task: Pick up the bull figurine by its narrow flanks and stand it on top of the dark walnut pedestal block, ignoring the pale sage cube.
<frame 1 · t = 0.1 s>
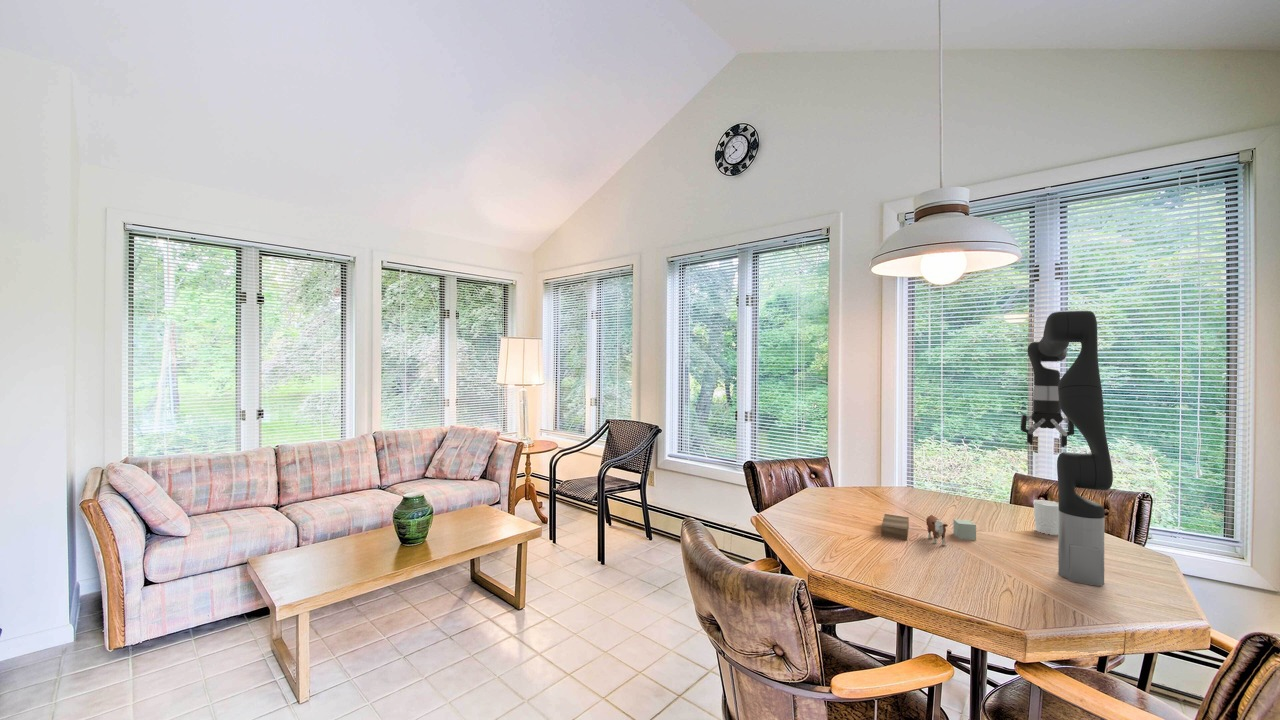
hand: (1046, 445, 172), 29 cm above the table, fingers open, 8 cm apart
white cup: (1048, 532, 170), on the table
bull figurine: (936, 542, 159), on the table
pedestal: (895, 533, 168), on the table
sage cube: (964, 537, 164), on the table
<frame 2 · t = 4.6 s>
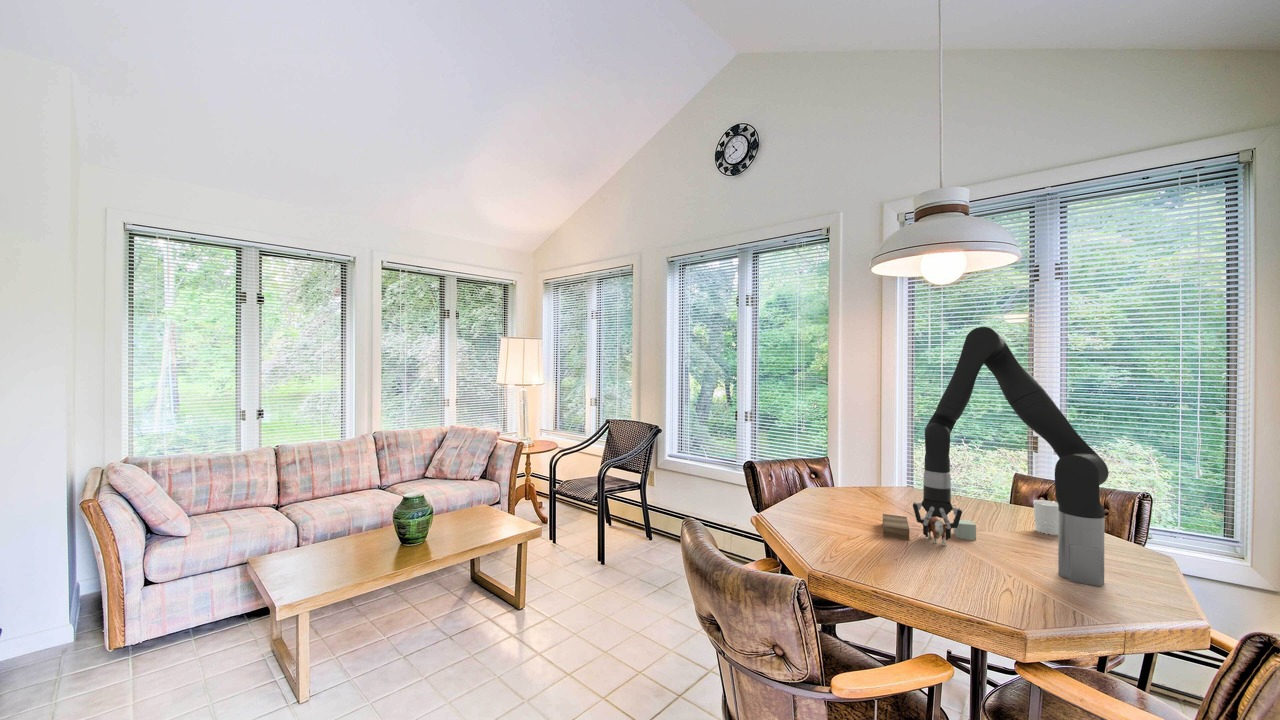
hand: (936, 537, 159), 1 cm above the table, fingers closed on bull figurine, 5 cm apart
bull figurine: (936, 543, 159), on the table, touching gripper
everything else where it was.
when the fingers open (6 cm above the table, at t = 10.1 s): bull figurine drops 1 cm, point 3 cm above the table.
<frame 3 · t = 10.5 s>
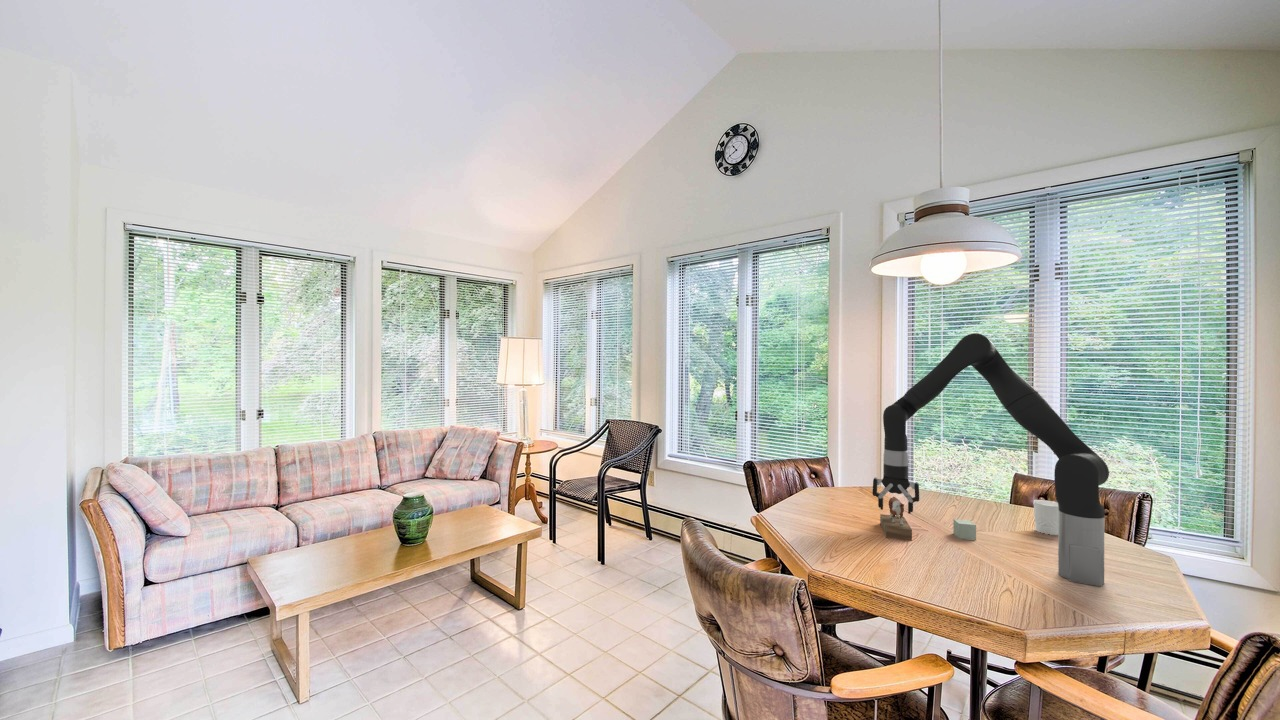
hand: (895, 511, 168), 7 cm above the table, fingers open, 8 cm apart
bull figurine: (896, 522, 168), point 3 cm above the table
everything else where it was.
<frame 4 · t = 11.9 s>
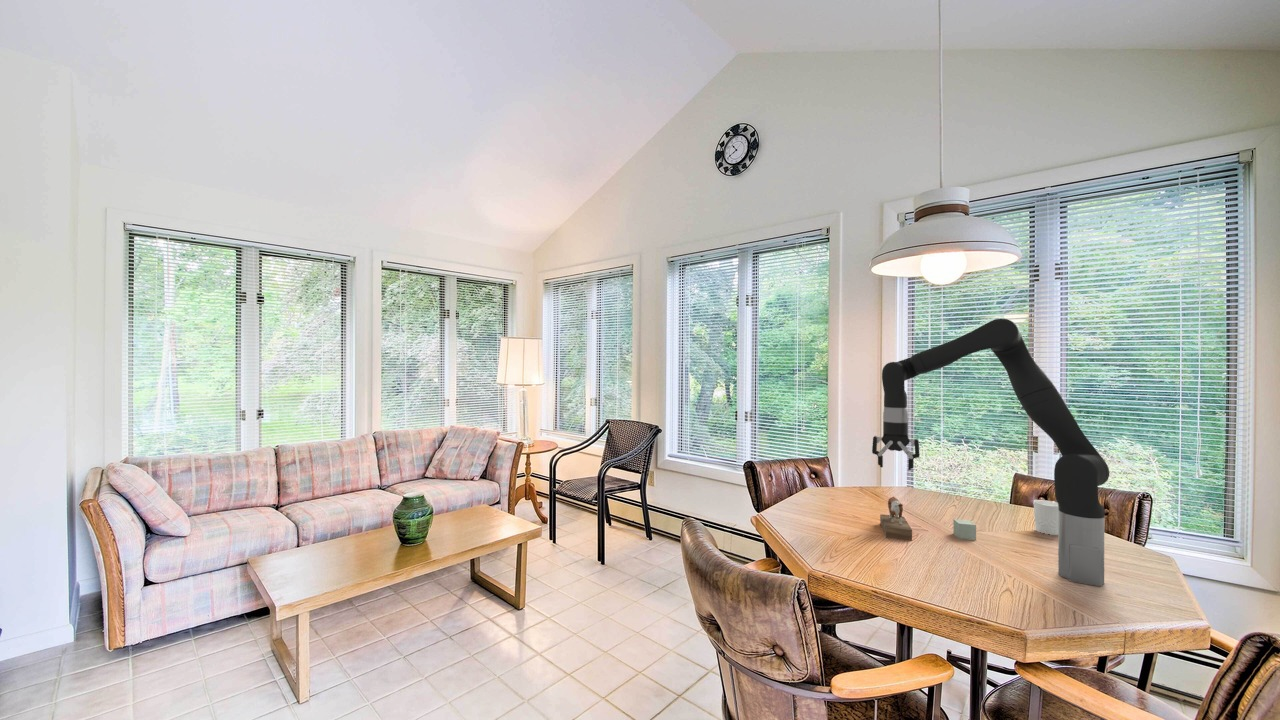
hand: (895, 468, 169), 22 cm above the table, fingers open, 8 cm apart
bull figurine: (895, 522, 168), point 3 cm above the table, touching pedestal
pedestal: (895, 533, 168), on the table, touching bull figurine
everything else where it was.
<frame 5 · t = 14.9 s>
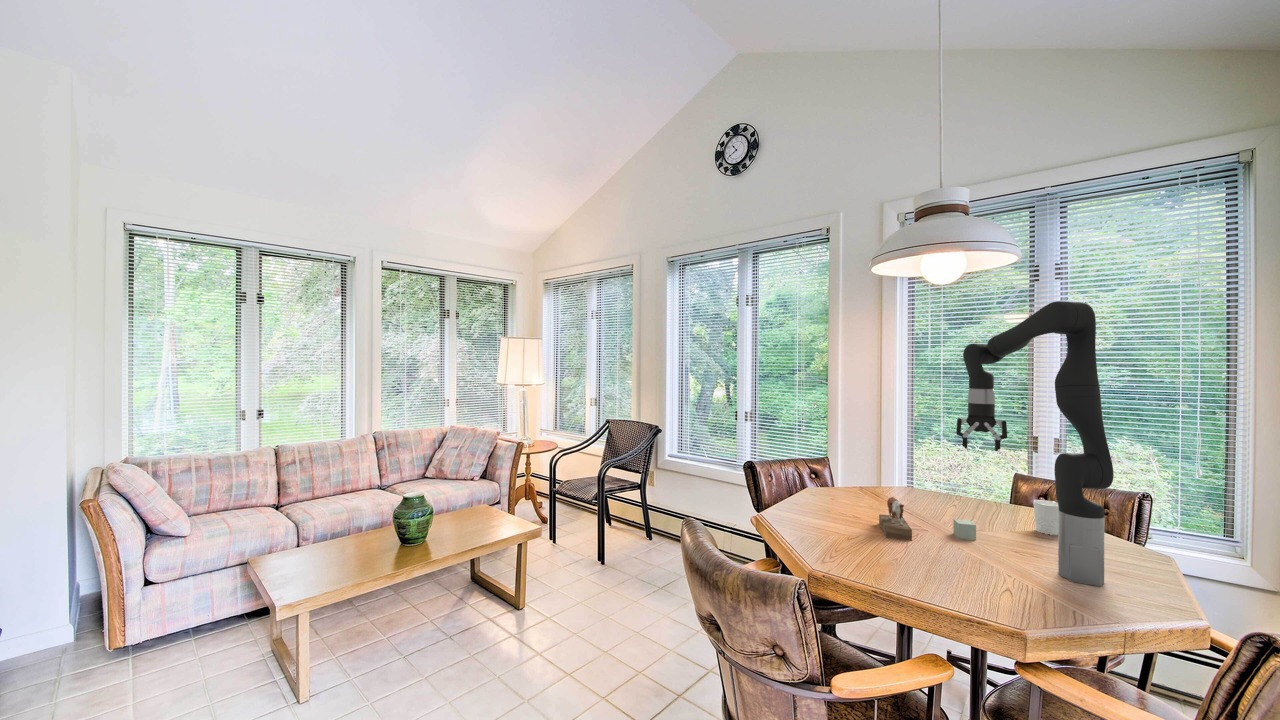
hand: (981, 449, 169), 28 cm above the table, fingers open, 8 cm apart
nothing on the table moved.
at the end: bull figurine 0.7 cm from the pedestal (horizontally); bull figurine touching pedestal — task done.
